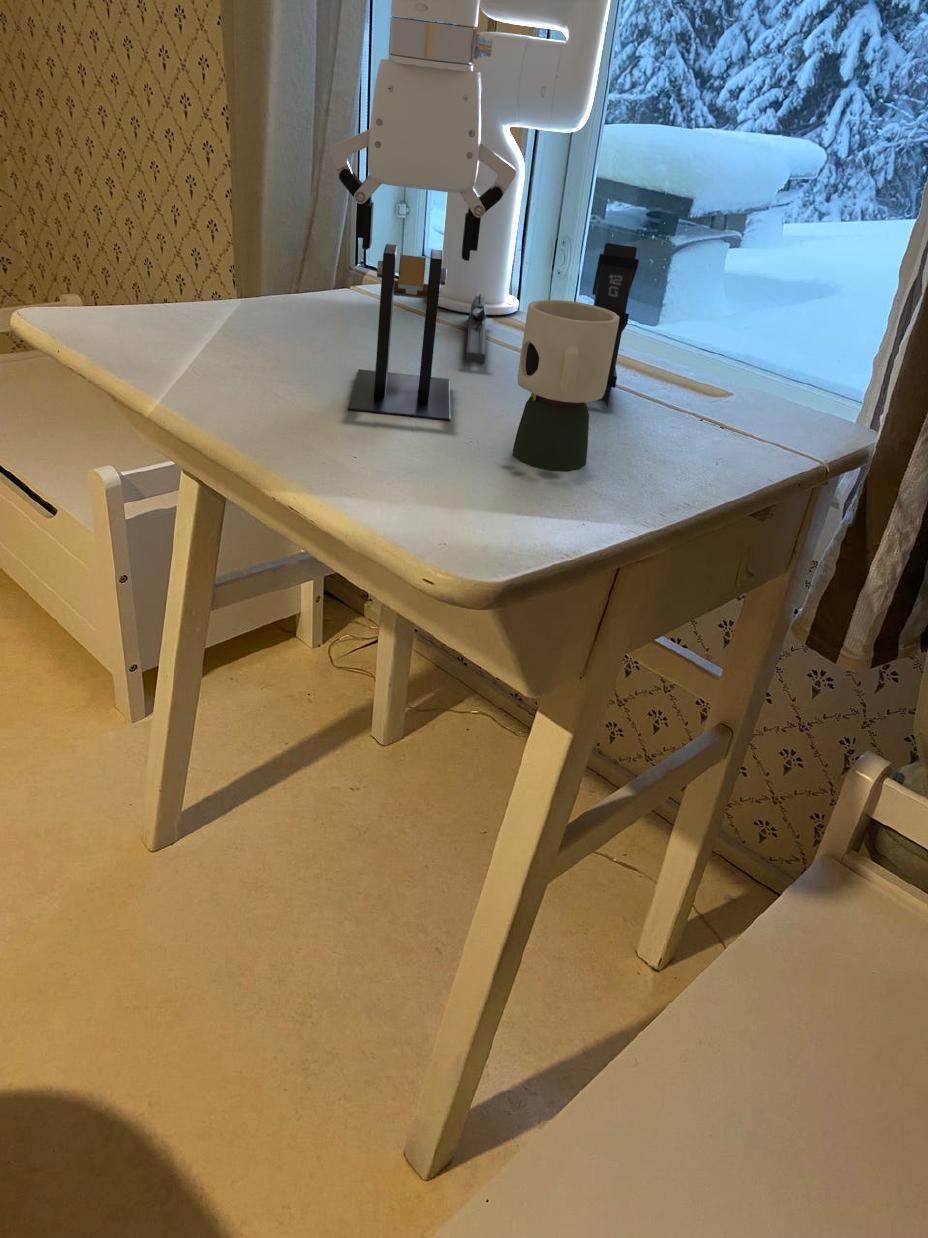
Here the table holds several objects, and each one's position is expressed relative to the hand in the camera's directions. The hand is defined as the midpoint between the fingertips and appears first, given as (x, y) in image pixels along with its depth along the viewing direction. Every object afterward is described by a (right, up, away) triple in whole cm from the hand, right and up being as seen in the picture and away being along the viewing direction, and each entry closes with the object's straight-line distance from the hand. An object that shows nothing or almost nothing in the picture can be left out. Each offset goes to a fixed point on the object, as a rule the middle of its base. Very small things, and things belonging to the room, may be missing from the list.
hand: (416, 252), depth 91 cm
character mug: (+12, -23, -13) cm, 29 cm away
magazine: (+18, -12, +8) cm, 23 cm away
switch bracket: (-1, -16, -3) cm, 16 cm away
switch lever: (0, -6, -4) cm, 7 cm away
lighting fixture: (+6, -5, +17) cm, 19 cm away
